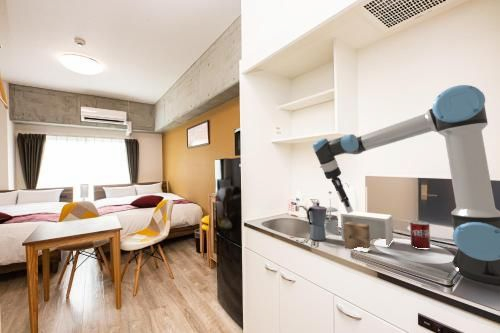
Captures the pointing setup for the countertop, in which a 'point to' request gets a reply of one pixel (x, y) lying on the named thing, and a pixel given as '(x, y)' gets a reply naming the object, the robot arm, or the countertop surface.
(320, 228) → the moka pot
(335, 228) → the french press
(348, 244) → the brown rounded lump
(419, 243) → the soda can
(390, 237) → the white box
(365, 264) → the countertop surface
